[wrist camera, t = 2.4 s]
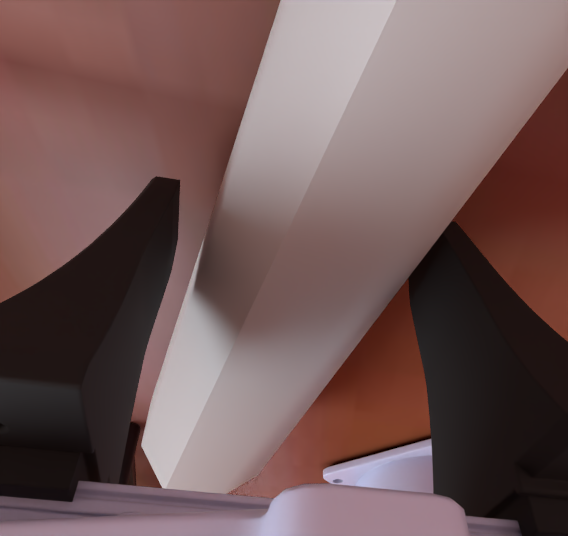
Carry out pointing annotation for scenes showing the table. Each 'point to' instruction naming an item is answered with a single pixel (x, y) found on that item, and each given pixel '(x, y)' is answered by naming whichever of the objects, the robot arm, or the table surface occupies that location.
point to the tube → (335, 207)
